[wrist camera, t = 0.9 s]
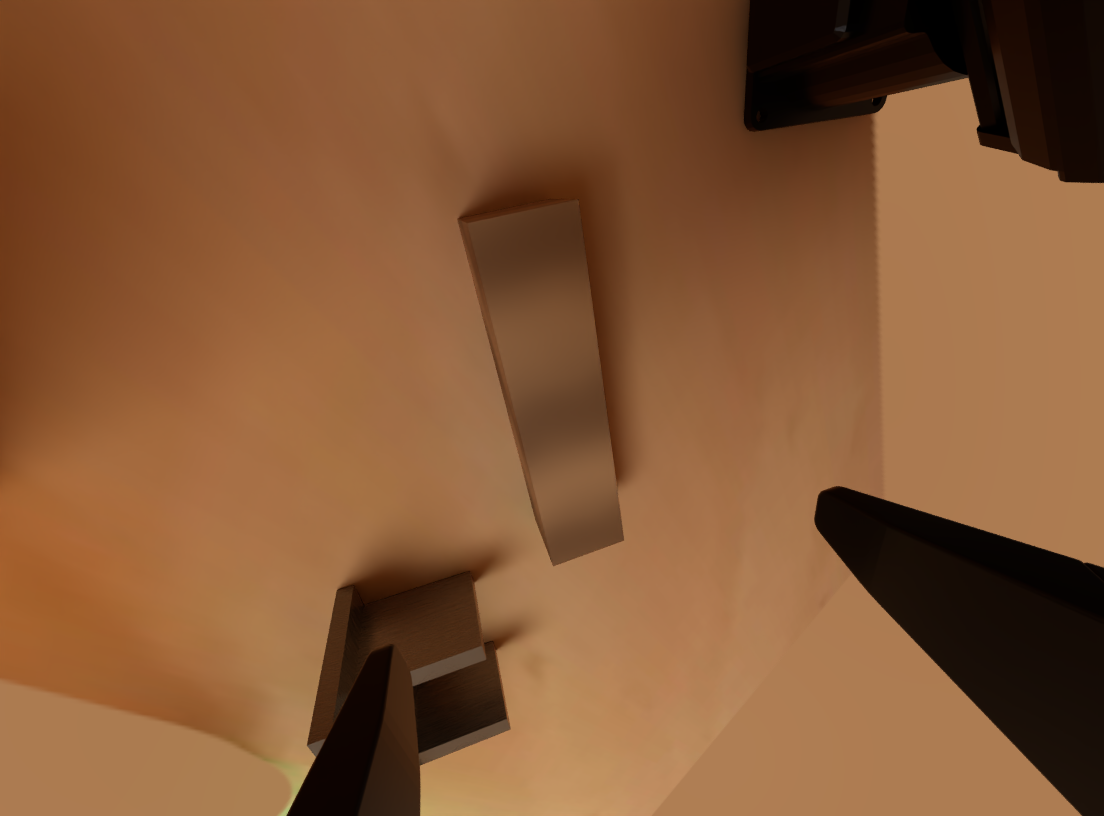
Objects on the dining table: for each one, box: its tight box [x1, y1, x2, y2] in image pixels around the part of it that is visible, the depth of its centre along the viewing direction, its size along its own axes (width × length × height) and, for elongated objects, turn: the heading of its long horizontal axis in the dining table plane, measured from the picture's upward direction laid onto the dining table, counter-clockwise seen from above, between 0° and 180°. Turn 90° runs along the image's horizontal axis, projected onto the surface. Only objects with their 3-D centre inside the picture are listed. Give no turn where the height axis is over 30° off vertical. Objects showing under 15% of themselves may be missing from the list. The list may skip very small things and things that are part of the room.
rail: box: [458, 199, 624, 566], centre depth 19 cm, size 15×4×4 cm, turn 11°
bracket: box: [307, 571, 510, 765], centre depth 21 cm, size 6×10×7 cm, turn 8°
